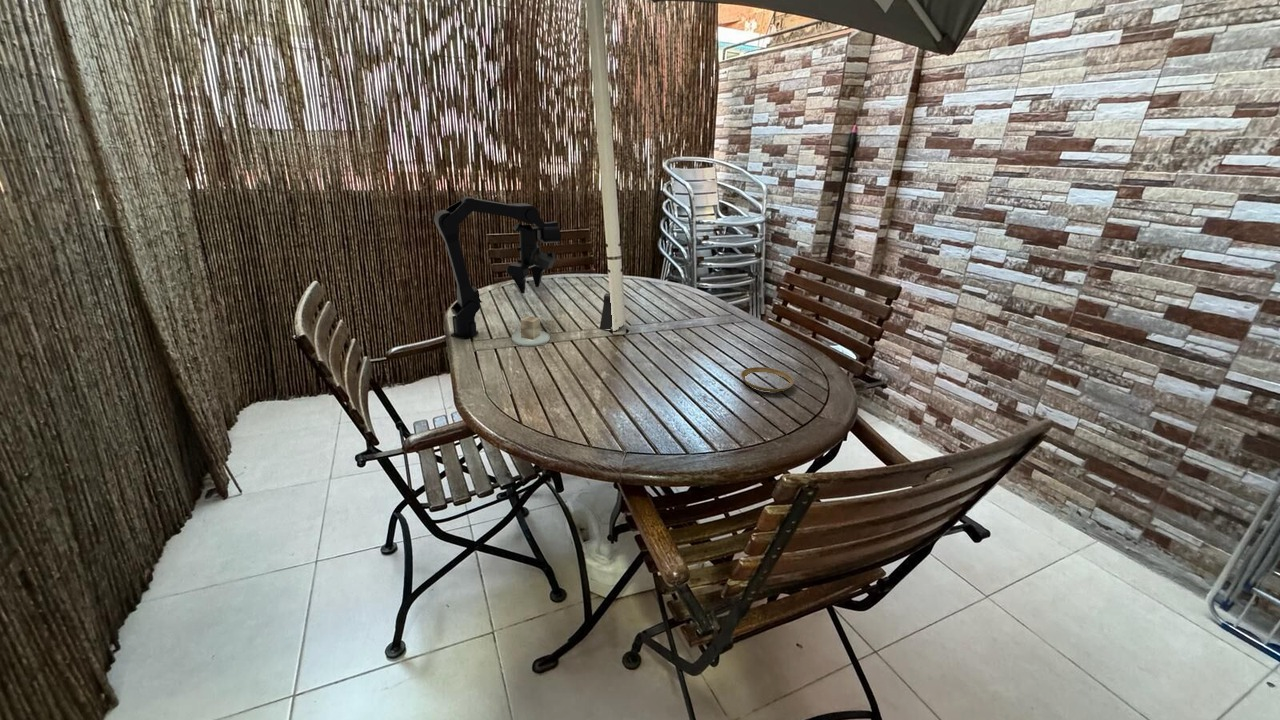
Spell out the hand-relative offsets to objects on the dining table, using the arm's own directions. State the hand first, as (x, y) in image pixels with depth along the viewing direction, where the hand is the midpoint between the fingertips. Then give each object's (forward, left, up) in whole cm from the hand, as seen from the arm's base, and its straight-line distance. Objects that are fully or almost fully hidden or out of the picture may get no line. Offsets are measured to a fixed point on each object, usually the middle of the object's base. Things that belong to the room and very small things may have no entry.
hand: (530, 290), depth 174 cm
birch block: (+6, -11, -12) cm, 18 cm away
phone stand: (+25, +13, -13) cm, 31 cm away
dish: (+6, -11, -13) cm, 18 cm away
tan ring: (+82, -11, -14) cm, 84 cm away
